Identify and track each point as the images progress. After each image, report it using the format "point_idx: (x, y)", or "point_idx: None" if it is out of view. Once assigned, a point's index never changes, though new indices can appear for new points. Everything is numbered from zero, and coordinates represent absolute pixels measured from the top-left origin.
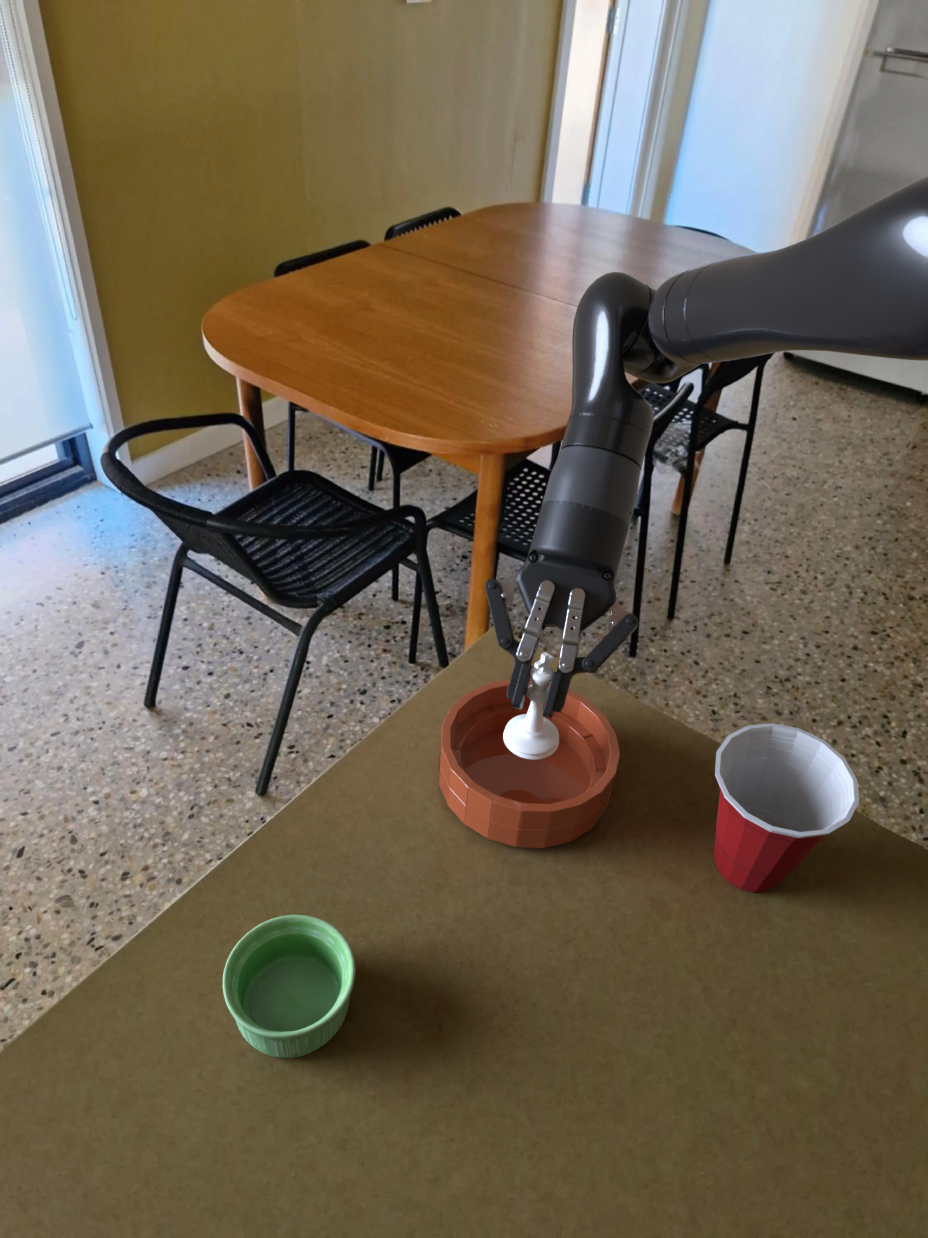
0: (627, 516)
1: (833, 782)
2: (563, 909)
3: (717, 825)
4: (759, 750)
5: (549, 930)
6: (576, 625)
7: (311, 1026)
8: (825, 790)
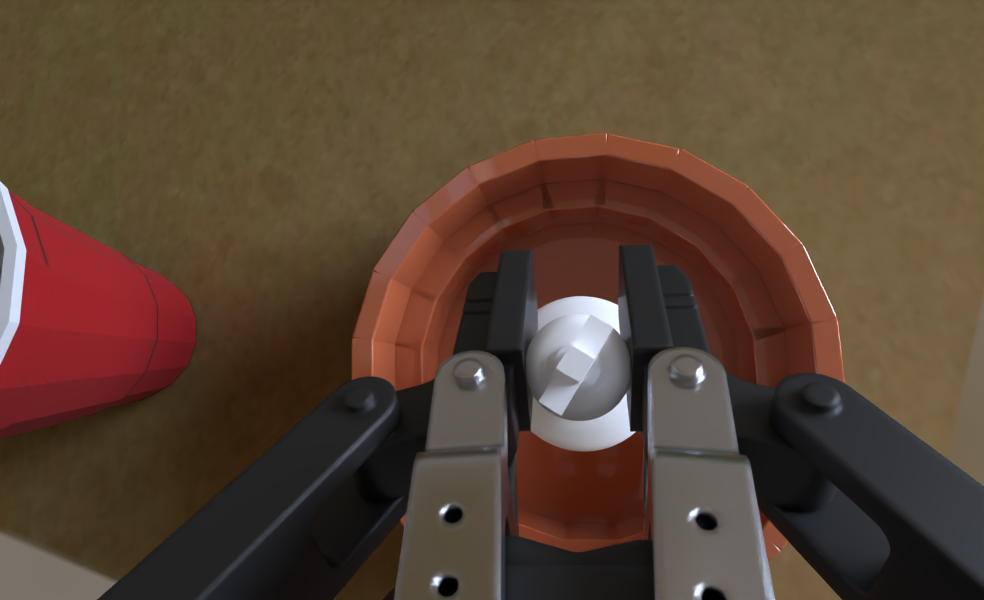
0: None
1: None
2: (429, 114)
3: (135, 297)
4: None
5: (442, 67)
6: (426, 537)
7: None
8: None
